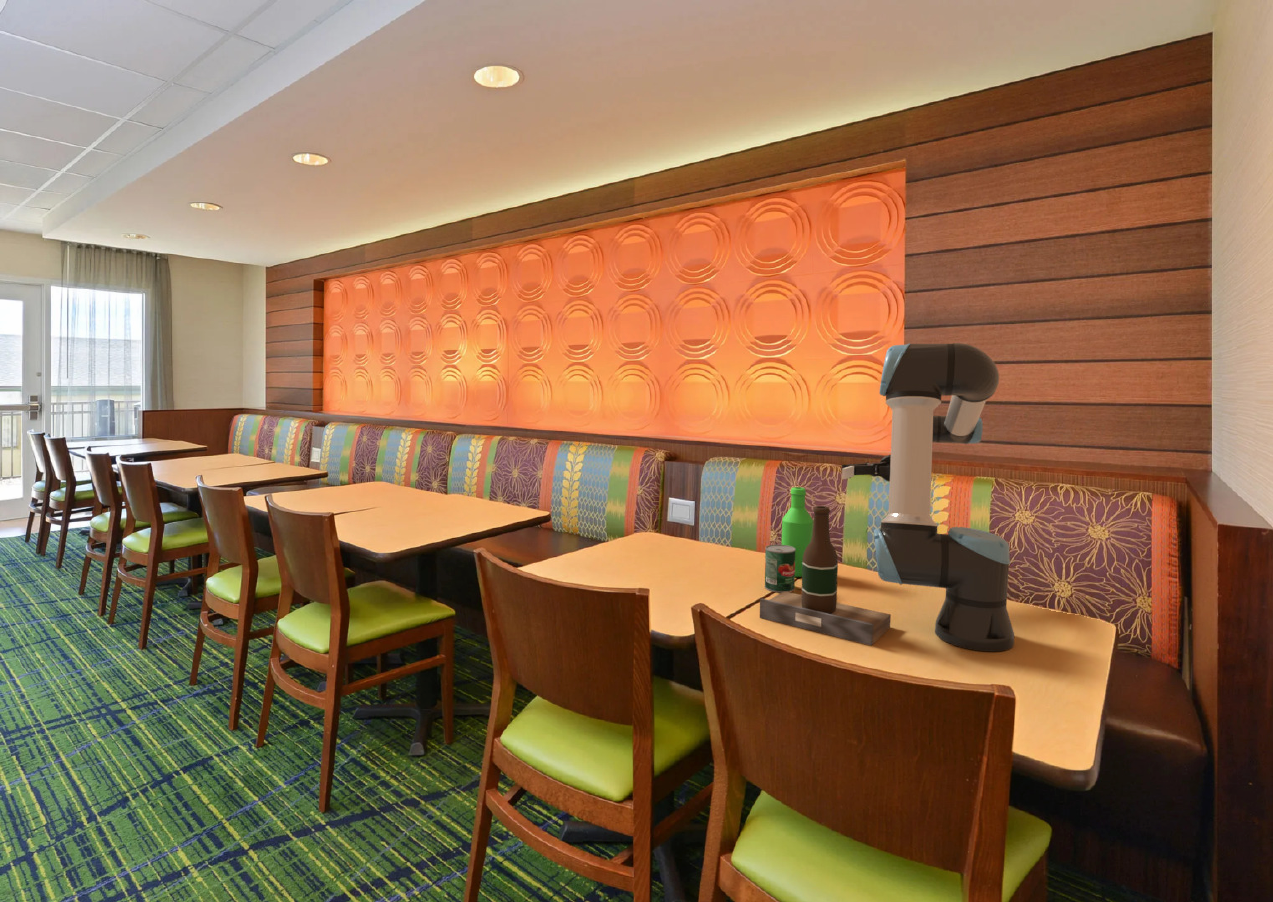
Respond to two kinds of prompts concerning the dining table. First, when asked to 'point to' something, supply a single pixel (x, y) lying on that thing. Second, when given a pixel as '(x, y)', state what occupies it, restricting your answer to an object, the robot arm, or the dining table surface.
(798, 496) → the bottle
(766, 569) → the canned tomato
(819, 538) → the beer bottle
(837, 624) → the shelf
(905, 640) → the dining table surface
